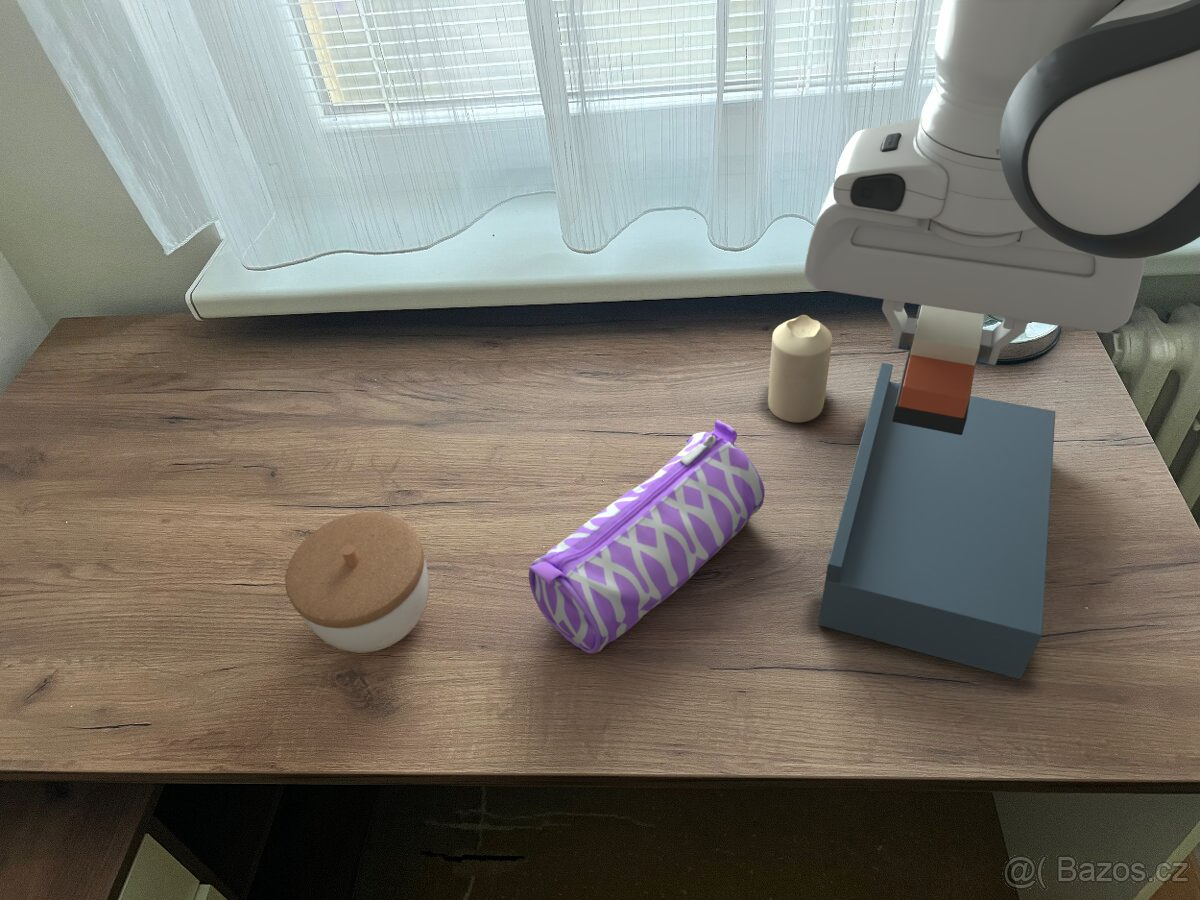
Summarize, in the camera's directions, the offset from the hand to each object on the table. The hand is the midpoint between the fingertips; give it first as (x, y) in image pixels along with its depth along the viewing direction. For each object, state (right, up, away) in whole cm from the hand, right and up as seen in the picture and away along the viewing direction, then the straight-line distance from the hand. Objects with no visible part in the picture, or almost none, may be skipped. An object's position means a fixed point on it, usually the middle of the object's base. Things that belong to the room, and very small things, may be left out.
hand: (942, 351), depth 62 cm
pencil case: (-20, -17, +13) cm, 29 cm away
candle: (-5, -3, +26) cm, 27 cm away
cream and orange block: (0, -1, +1) cm, 2 cm away
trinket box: (-43, -21, +12) cm, 49 cm away
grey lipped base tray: (+4, -14, +13) cm, 20 cm away
